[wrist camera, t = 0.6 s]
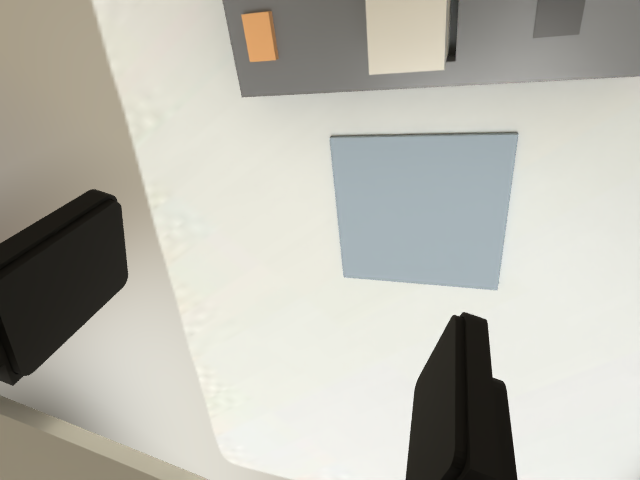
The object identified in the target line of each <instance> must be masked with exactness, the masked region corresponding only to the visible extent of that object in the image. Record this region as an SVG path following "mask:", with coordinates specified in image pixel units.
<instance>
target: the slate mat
mask: <svg viewBox="0 0 640 480" xmlns="http://www.w3.org/2000/svg"><path fill="white" fill-rule="evenodd" d="M517 141H518V133H483V134H433V135H382V136H332V137H330V147H331V157H332V167H333V177H334V186H335V196H336V206H337V216H338V226H339V236H340V246H341V256H342V265H343V275H344V277H347V278H359V279H370V280H382V281H394V282H406V283H418V284H429V285H441V286H453V287H465V288H476V289H488V290H497V289H498V282H499V275H500V267H501V260H502V252H503V245H504V237H505V230H506V223H507V215H508V208H509V200H510V193H511V185H512V178H513V171H514V163H515V156H516V148H517Z"/></svg>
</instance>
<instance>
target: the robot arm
mask: <svg viewBox="0 0 640 480" xmlns="http://www.w3.org/2000/svg"><path fill="white" fill-rule="evenodd" d="M127 278H128V269H127V260H126V249H125V239H124V229H123V219H122V209H121V205H120V204H119V203H118V202H117V199H116V197H115V196H113V195H111V194H108V193H105V192H102V191H98V190H96V189H95V190H94V189H92V190H89V191H87V192H86V193H84V194H82V195H81V196H79V197H78V198H76V199H74V200H72V201H71V202H69V203H67V204H66V205H64V206H63V207H61V208H59V209H57V210H56V211H54V212H52V213H51V214H49V215H47V216H45V217H44V218H42V219H40V220H39V221H37V222H35V223H34V224H32V225H30V226H29V227H27V228H26V229H24V230H22V231H20V232H19V233H17V234H15V235H14V236H12V237H10V238H9V239H7V240H5V241H4V242H2V243H0V381H3V382H5V383H8V384H10V385H12V386H13V385H14V384H15V383H17V381H19V379H21V378H22V377H23V376H27V375H30V374H31V373H33V372H34V371H35V370H36V369H37V368H38V367H39V366H41V365H42V364H43V363H44V362H45V361H46V360H47V359H48V358H49V357H50V356H51V355H52V354H53V353H54V352H55V351H56V350H57V349H58V348H60V347H61V346H62V344H64V343H65V342H66V341H67V340H68V339H69V338H70V337H71V336H72V335H73V334H74V333H75V332H76V331H77V330H78V329H79V328H81V327H82V326H83V325H84V324H85V323H86V322H87V321H88V320H89V319H90V318H91V317H92V316H93V315H94V314H95V313H96V312H97V311H98V310H99V309H101V308H102V307H103V306H104V305H105V304H106V303H107V302H108V301H109V300H110V299H111V298H112V297H113V296H114V295H115V294H116V293H117V292H119V291H120V290H121V289H122V288H123V287H124V285H125V284H126V281H127ZM0 480H208V479H206V478H203V477H201V476H198V475H196V474H194V473H191V472H188V471H186V470H184V469H181V468H179V467H176V466H174V465H172V464H169V463H167V462H164V461H161V460H159V459H157V458H154V457H152V456H149V455H147V454H144V453H142V452H140V451H137V450H135V449H132V448H130V447H127V446H125V445H122V444H119V443H117V442H115V441H112V440H110V439H107V438H105V437H102V436H100V435H98V434H95V433H92V432H90V431H88V430H85V429H83V428H80V427H78V426H75V425H73V424H70V423H68V422H65V421H63V420H60V419H58V418H55V417H52V416H50V415H48V414H45V413H43V412H40V411H38V410H35V409H33V408H30V407H28V406H25V405H23V404H20V403H17V402H15V401H13V400H10V399H8V398H5V397H3V396H0ZM406 480H517V472H516V464H515V455H514V447H513V439H512V431H511V422H510V414H509V406H508V398H507V390H506V386H505V384H504V382H503V381H501V380H498V379H495V378H492V367H491V356H490V345H489V333H488V323H487V320H486V319H483V318H480V317H477V316H474V315H471V314H468V313H465V312H463V313H462V314H461V315H460V317H459V316H456V315H453V316H452V317H451V319H450V321H449V323H448V324H447V326H446V328H445V330H444V332H443V334H442V335H441V337H440V339H439V341H438V343H437V345H436V347H435V348H434V350H433V352H432V354H431V356H430V358H429V359H428V361H427V363H426V365H425V367H424V369H423V370H422V372H421V374H420V376H419V378H418V380H417V383H416V386H415V391H414V401H413V411H412V421H411V431H410V441H409V451H408V461H407V471H406Z"/></svg>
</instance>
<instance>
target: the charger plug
mask: <svg viewBox="0 0 640 480" xmlns="http://www.w3.org/2000/svg"><path fill="white" fill-rule="evenodd" d="M365 12H366V32H367V53H368V73H369V75H383V74H399V73H414V72H430V71H445V68H446V59H447V55H448V50H449V38H450V15H451V0H365Z"/></svg>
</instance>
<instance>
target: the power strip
mask: <svg viewBox="0 0 640 480" xmlns="http://www.w3.org/2000/svg"><path fill="white" fill-rule="evenodd" d="M223 5H224V10H225V15H226V20H227V25H228V30H229V35H230V40H231V45H232V50H233V55H234V60H235V65H236V70H237V75H238V80H239V85H240V90H241V95H242V97H256V96H275V95H294V94H313V93H332V92H351V91H369V90H388V89H407V88H426V87H445V86H464V85H483V84H502V83H521V82H540V81H559V80H578V79H596V78H615V77H634V76H640V0H459V4H458V24H457V43H456V55H451V56H447V59H446V68H445V71H430V72H414V73H399V74H383V75H369V73H368V53H367V32H366V12H365V0H223Z"/></svg>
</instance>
